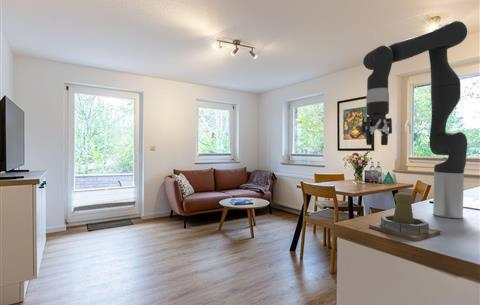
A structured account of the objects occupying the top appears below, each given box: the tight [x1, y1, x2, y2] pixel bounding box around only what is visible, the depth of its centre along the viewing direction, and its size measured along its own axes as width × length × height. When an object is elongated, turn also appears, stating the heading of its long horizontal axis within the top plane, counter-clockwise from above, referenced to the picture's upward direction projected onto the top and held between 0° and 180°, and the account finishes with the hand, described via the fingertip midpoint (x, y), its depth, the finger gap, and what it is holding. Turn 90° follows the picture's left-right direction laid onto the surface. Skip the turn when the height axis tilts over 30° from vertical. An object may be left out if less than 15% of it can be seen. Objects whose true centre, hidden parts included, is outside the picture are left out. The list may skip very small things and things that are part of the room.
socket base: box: [368, 214, 441, 242], centre depth 82 cm, size 14×14×4 cm
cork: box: [393, 191, 415, 224], centre depth 82 cm, size 6×6×11 cm
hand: (377, 145), depth 98 cm, fingers open, 8 cm apart
